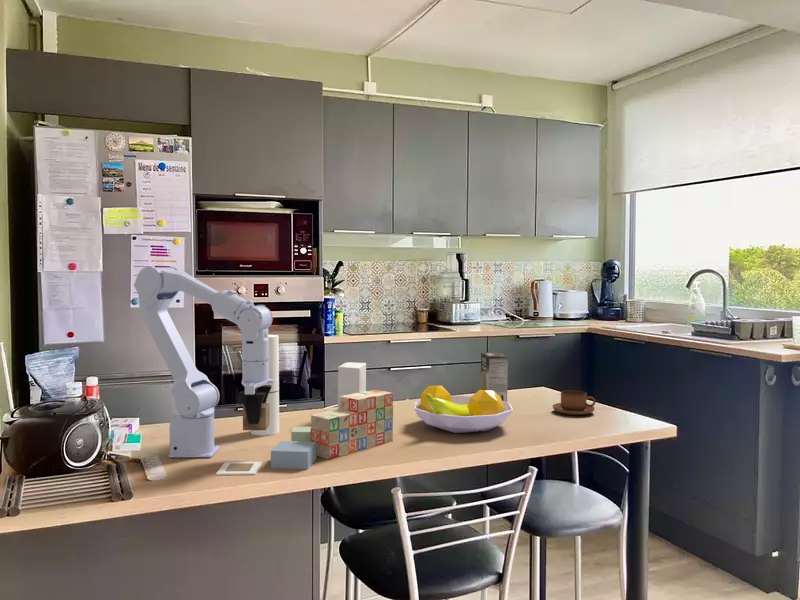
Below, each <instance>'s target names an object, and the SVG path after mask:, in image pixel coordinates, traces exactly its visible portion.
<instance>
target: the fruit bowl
mask: <svg viewBox="0 0 800 600" xmlns="http://www.w3.org/2000/svg"><path fill="white" fill-rule="evenodd" d="M413 409H414V411H415V413H416V416H417V417H418V418H419V419H420V420H422V421H423V422H425V424H426V425H429V426H432V427H436V428H438V429H441V430H443V431H447V432H451V433H453V434H458V433H459V434H463V433H476V432H478V433H479V431H481V432H488V431H489V430H491V429H493V428H495V427H498V426H500V425H503V424H504V422H506V420H507V419H508V417H510V415H511V413H512V412H513V411H514V409H513V407H512V405H511V403H510V402H508V401H507V402H504V401H502V399H501V397H500V396H499V395H498V394H497V393H496V392H495V391H491V390H481V389H479V390H477V391H476V392H475V393H474V394H473V395H470V396H469V395H453V396H452V394H450V392H449V391H448V390H447V389H446V388H445V387H444V386H443V385H428V386H426V388H425V389H424V390H423V391H422V392H421V393H420V400H418V401H417V400H416V401H415V402H414V408H413Z"/></svg>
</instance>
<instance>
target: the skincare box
mask: <svg viewBox="0 0 800 600" xmlns="http://www.w3.org/2000/svg"><path fill="white" fill-rule="evenodd" d="M337 369H338V370H337V409H340V396H344V395H349V394H354V393H358V392H363V391H367V363H366V362H353V361H352V362H351V361H349V362H344V363H343V364H341V365H339V366H338V367H337Z"/></svg>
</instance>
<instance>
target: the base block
mask: <svg viewBox="0 0 800 600" xmlns="http://www.w3.org/2000/svg"><path fill="white" fill-rule="evenodd" d="M317 457H318V456H317V446H316V442H305V441H291V440H280V442H278V443H277V444H276V445H275V446H274V447H273V448H272V449H271V450H270V468H271V469H287V470H288V469H289V470H309V469H310V468H311V466H312V465H313V463H314V462H315V461H316V460H317Z"/></svg>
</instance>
